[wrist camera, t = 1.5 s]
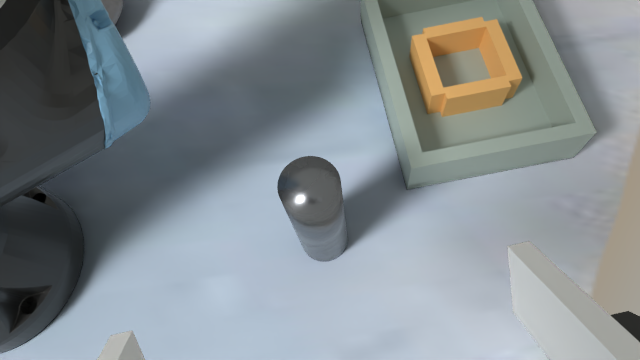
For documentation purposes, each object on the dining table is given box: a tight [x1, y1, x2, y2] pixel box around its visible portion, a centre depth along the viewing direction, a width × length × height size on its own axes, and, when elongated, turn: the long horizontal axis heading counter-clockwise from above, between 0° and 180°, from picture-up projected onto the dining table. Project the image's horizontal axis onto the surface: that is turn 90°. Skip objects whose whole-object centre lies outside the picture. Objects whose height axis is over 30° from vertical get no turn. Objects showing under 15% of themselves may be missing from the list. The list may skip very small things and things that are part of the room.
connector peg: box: [278, 156, 348, 261], centre depth 34 cm, size 4×4×12 cm
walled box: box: [361, 0, 597, 190], centre depth 43 cm, size 15×20×4 cm
